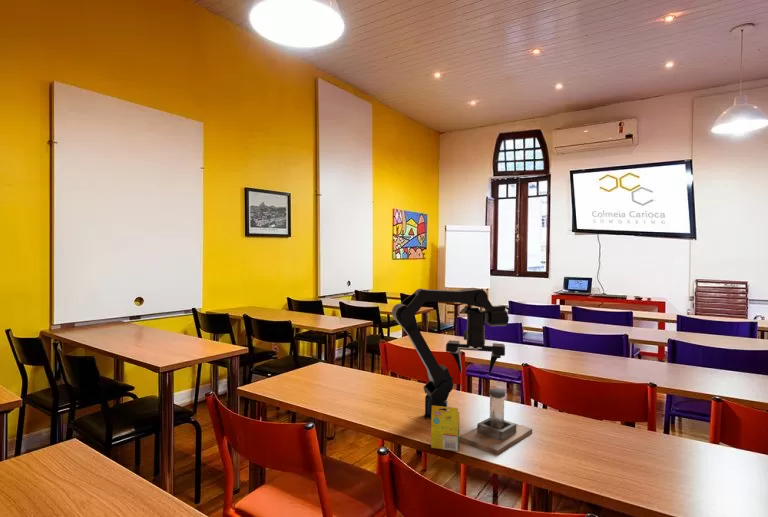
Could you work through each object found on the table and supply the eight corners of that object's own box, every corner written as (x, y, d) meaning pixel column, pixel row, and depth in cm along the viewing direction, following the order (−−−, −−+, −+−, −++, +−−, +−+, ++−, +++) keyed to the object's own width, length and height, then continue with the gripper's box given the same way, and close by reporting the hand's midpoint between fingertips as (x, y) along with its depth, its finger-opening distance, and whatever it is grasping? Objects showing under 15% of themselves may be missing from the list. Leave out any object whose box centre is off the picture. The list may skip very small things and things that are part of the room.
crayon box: (459, 447, 120) (460, 404, 120) (457, 452, 118) (458, 408, 117) (432, 443, 123) (433, 401, 122) (430, 448, 120) (431, 405, 120)
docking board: (459, 440, 125) (459, 427, 124) (495, 421, 139) (496, 409, 139) (497, 454, 116) (497, 441, 116) (532, 432, 130) (532, 420, 130)
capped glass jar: (488, 434, 126) (489, 392, 126) (488, 428, 130) (489, 388, 130) (504, 436, 125) (505, 394, 125) (504, 430, 129) (505, 389, 129)
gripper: (505, 324, 150) (504, 369, 151) (450, 321, 155) (449, 365, 155) (505, 329, 139) (504, 379, 140) (446, 326, 144) (445, 374, 145)
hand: (475, 373), depth 145 cm, fingers open, 9 cm apart
